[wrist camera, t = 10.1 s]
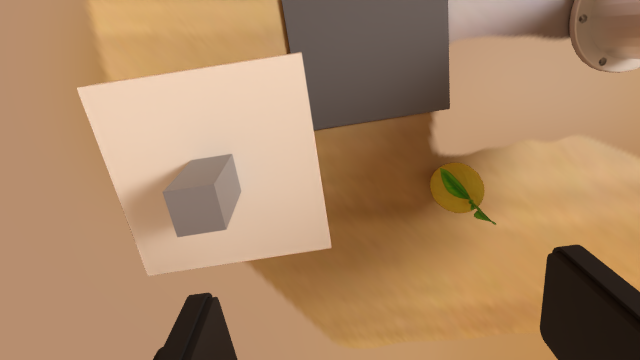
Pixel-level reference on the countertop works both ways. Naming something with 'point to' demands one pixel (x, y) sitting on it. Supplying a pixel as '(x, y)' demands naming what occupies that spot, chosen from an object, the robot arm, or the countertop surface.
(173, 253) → the lid
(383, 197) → the countertop surface
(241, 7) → the countertop surface
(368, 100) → the mat
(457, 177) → the lemon
